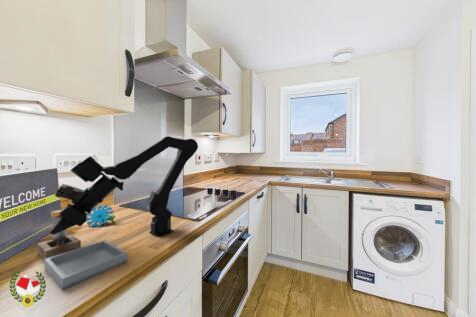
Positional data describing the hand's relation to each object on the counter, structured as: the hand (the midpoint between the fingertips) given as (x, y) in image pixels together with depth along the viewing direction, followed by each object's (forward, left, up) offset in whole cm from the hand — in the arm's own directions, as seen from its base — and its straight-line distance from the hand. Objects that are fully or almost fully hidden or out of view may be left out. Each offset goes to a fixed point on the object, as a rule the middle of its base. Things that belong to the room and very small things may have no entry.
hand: (53, 231), depth 58 cm
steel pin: (-1, +1, -7) cm, 7 cm away
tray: (-3, +16, -7) cm, 17 cm away
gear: (-19, -16, -7) cm, 25 cm away
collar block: (-1, +1, -7) cm, 7 cm away
